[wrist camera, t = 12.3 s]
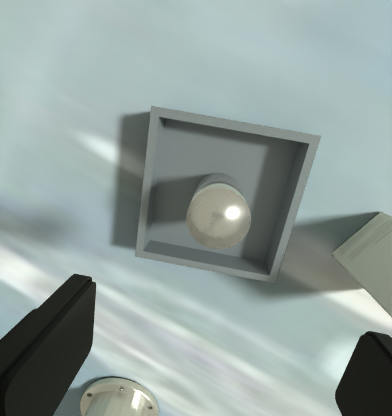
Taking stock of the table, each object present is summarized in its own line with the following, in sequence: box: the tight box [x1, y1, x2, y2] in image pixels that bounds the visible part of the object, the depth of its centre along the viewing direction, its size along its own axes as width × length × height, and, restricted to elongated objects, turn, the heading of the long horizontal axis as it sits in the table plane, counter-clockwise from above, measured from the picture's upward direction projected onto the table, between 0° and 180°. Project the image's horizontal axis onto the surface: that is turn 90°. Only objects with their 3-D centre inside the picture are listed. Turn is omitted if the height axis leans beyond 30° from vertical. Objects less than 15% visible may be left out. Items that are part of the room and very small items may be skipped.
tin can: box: [186, 173, 251, 249], centre depth 24 cm, size 5×5×8 cm
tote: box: [135, 106, 321, 283], centre depth 26 cm, size 16×16×4 cm
